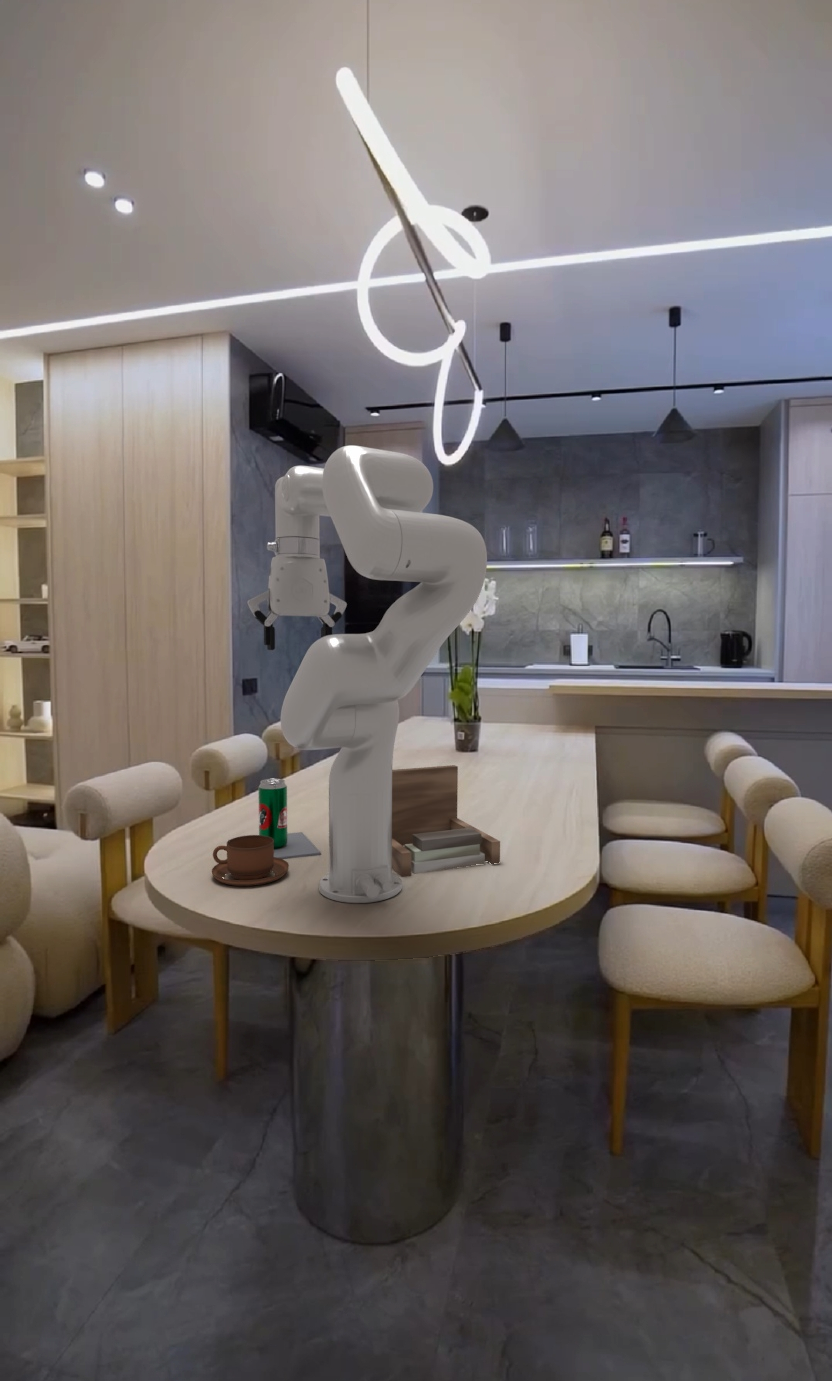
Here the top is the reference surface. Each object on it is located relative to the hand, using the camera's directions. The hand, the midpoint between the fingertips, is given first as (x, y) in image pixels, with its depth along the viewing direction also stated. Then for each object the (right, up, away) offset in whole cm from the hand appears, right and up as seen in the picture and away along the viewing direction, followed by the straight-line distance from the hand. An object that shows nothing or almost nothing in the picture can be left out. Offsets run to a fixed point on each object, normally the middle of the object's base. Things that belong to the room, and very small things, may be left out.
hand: (298, 649), depth 124 cm
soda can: (-5, -36, +5) cm, 36 cm away
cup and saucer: (-6, -38, -10) cm, 39 cm away
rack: (+23, -36, +2) cm, 43 cm away
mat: (-5, -36, +5) cm, 37 cm away
